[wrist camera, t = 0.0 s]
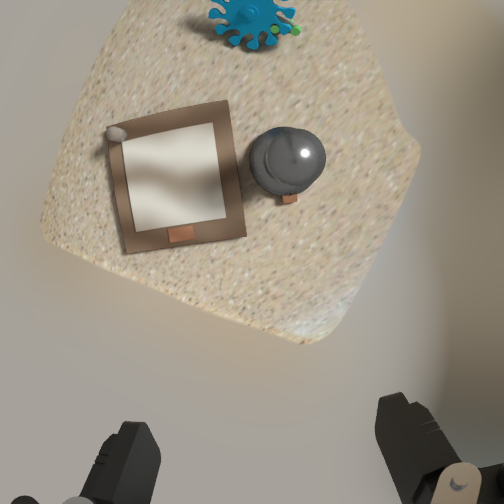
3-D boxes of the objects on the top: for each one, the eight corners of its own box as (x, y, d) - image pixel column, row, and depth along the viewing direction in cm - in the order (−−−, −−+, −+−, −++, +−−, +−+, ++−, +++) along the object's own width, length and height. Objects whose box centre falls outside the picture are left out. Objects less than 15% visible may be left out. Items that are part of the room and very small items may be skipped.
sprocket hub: (245, 132, 34) (243, 117, 25) (313, 125, 34) (335, 109, 24) (255, 206, 36) (257, 218, 27) (322, 197, 36) (347, 207, 26)
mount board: (110, 127, 34) (95, 123, 30) (228, 102, 33) (225, 93, 29) (130, 251, 38) (117, 260, 34) (246, 234, 37) (246, 242, 33)
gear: (193, 29, 29) (227, -38, 21) (211, 18, 32) (242, -40, 24) (275, 69, 32) (319, 6, 24) (283, 53, 35) (322, -1, 27)
